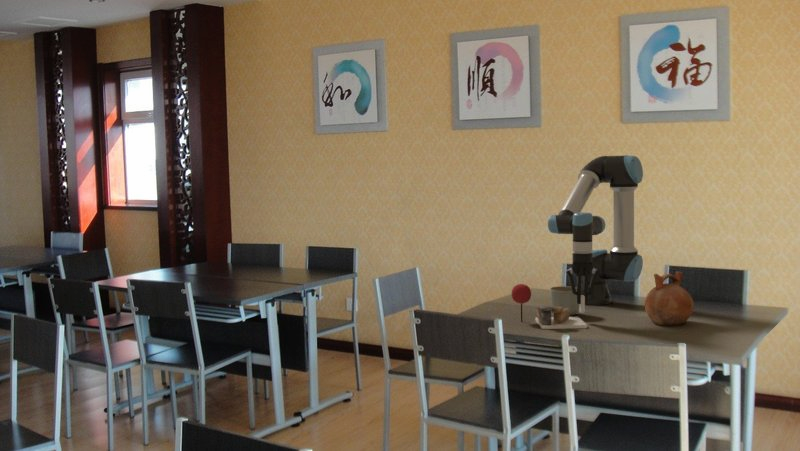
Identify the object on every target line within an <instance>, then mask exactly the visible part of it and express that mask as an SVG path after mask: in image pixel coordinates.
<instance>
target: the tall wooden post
mask: <svg viewBox="0 0 800 451" xmlns="http://www.w3.org/2000/svg"><path fill="white" fill-rule="evenodd" d="M540 307H541V306H537V307H536V318H538V319H539V320H540V321H541V322H542V325H551V317H552V311H541V310H540Z"/></svg>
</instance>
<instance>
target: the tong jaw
mask: <svg viewBox="0 0 800 451" xmlns="http://www.w3.org/2000/svg"><path fill="white" fill-rule="evenodd" d="M539 307H540V310H541V311H551V314H553V317H554V323H563V322H564V321H566V320H567V319H569V317H570V316H569V308H563V307H558V306H555V307H551V305H550V306H549V305H547V306H546V305H543V306H539Z"/></svg>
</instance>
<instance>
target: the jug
mask: <svg viewBox="0 0 800 451" xmlns="http://www.w3.org/2000/svg"><path fill="white" fill-rule="evenodd" d="M683 276H684V273H683V272H682V271H675V274H674V275H673V274H671V273H665V274H663V275H659V273H654V274H653V278H654V282H655V287H653V288H652V289H650V290H649V292H647V295H646V296H645V299H644V309H645V312H646V314H647V317H648V318H649V319H650V320H651V322H652V323H653V324H654V325H656V326H657V325H658V326H662V325H663V326H666V327H678V326H677V325H679V326H683V325H684V324H685V323H686V322H687V321H688V320H689V319H690V318H691V316H692V314H693V312H694V309H695V302H694V299H693V297H692V296H691V294H690V293H689V292H688V291H687V290H686V289H685V288H684V287H682V286H681V283H682V279H683ZM668 278H670V279H671V280H672V282H669V283H664V282H665V281H666V279H668ZM682 324H683V325H682Z"/></svg>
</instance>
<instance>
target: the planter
mask: <svg viewBox="0 0 800 451" xmlns="http://www.w3.org/2000/svg"><path fill="white" fill-rule="evenodd" d="M575 289H576V292H577V286H575ZM549 297H550V298H549V300H550V306H551V307H555V306H558V307H563V308H569V317H574V315H575V316H576V314H578V312H579V304H577V295H575V294H573V293H572V290H571V285H570V286H567V285H564V286H563V285H560V286H553V287H550V288H549Z"/></svg>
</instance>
